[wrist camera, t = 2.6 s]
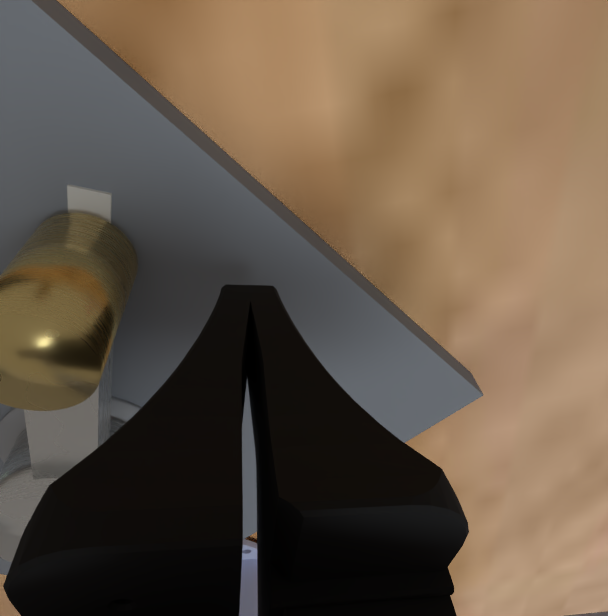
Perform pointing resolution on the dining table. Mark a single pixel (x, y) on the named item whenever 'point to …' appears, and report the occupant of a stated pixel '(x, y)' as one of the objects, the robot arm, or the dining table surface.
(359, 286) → the stand base
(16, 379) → the lever
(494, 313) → the dining table surface
